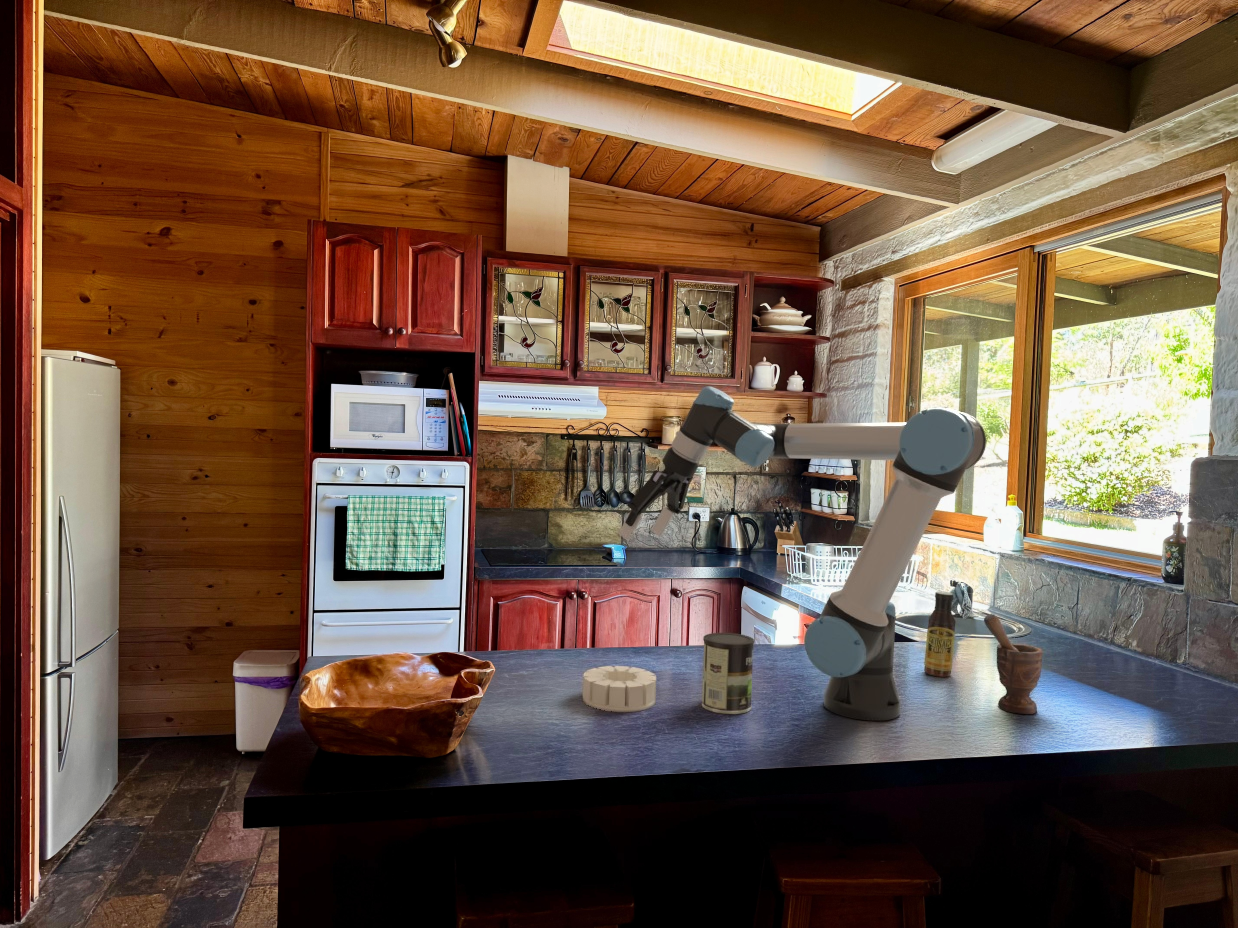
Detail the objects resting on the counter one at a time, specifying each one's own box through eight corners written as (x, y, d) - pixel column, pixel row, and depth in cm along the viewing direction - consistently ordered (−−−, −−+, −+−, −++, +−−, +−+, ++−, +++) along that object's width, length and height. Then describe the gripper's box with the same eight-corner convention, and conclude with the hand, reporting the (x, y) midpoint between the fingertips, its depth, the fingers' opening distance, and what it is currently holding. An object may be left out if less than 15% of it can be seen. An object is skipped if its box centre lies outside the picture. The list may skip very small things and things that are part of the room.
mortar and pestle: (1006, 719, 166) (1011, 621, 165) (973, 705, 174) (978, 612, 173) (1048, 713, 170) (1053, 618, 170) (1014, 701, 178) (1019, 609, 178)
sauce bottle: (923, 675, 196) (927, 593, 195) (924, 669, 202) (927, 589, 201) (953, 679, 193) (956, 595, 193) (952, 672, 199) (956, 591, 199)
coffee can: (752, 700, 172) (755, 634, 172) (750, 716, 162) (753, 646, 162) (703, 696, 174) (705, 630, 174) (698, 711, 164) (700, 641, 164)
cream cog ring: (656, 690, 176) (656, 667, 176) (654, 713, 161) (655, 688, 161) (586, 687, 177) (587, 664, 177) (578, 709, 162) (579, 684, 162)
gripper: (699, 447, 189) (656, 523, 195) (642, 443, 168) (596, 528, 174) (724, 464, 185) (680, 541, 191) (669, 462, 165) (621, 548, 171)
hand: (640, 535), depth 183 cm, fingers open, 13 cm apart
